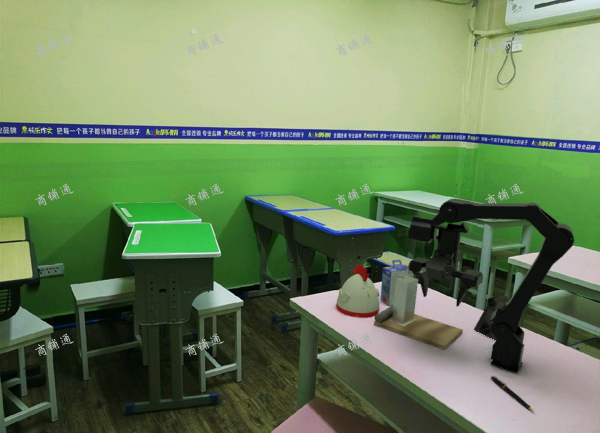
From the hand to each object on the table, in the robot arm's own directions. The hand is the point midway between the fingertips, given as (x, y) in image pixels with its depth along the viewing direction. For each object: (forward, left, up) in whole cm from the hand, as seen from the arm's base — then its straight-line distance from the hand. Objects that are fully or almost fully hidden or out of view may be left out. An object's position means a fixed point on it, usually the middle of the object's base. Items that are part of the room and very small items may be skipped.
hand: (440, 301), depth 124 cm
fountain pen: (-23, +11, -13) cm, 29 cm away
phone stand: (-10, -19, -13) cm, 25 cm away
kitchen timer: (+29, -6, -13) cm, 32 cm away
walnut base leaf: (+8, -6, -13) cm, 16 cm away
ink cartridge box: (+23, -21, -13) cm, 34 cm away
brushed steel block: (+13, -6, -12) cm, 18 cm away
